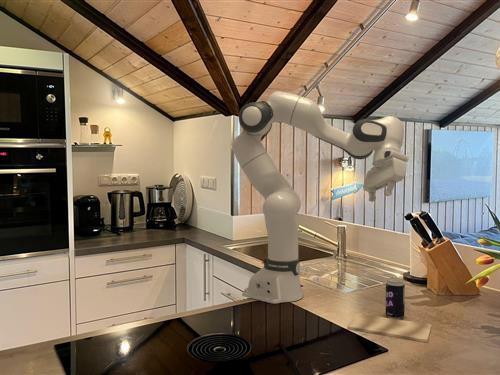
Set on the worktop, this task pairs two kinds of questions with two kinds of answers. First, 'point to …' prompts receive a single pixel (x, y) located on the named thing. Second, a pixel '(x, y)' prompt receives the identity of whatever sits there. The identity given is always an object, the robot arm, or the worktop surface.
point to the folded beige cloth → (390, 327)
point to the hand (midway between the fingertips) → (379, 198)
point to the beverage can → (395, 298)
